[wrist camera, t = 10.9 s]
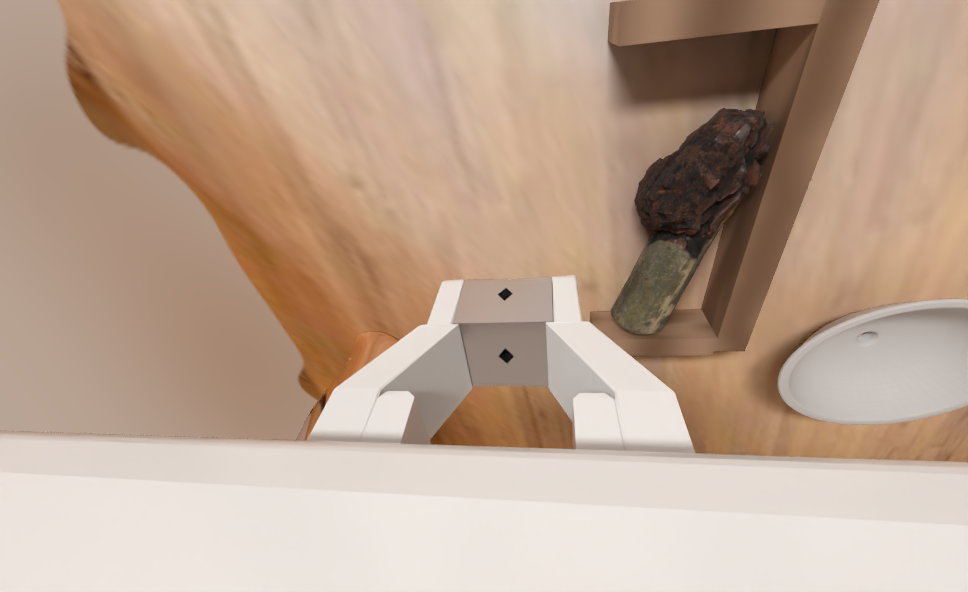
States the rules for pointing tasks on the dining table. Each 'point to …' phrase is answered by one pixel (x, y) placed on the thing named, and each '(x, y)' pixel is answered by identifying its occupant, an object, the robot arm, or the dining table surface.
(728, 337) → the walnut cradle
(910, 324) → the dish
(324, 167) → the dining table surface
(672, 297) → the metal pipe
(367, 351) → the beer glass
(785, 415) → the dining table surface
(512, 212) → the dining table surface
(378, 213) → the dining table surface
